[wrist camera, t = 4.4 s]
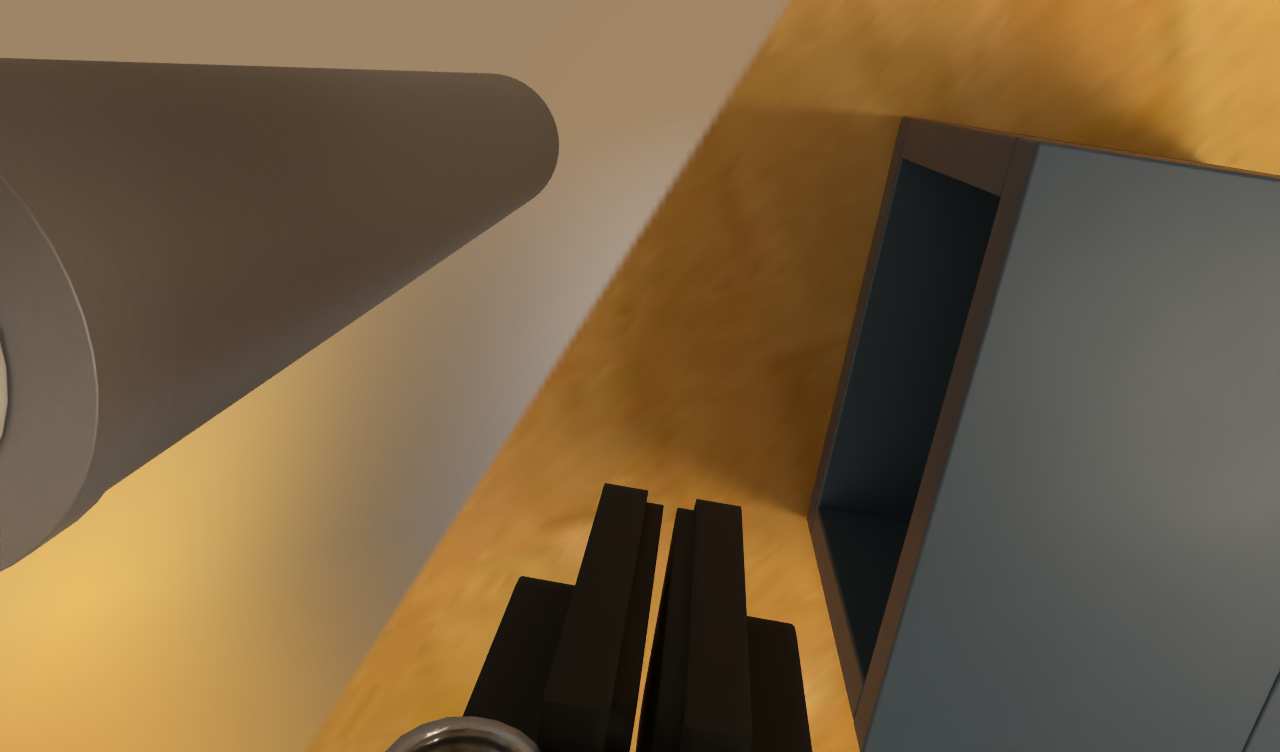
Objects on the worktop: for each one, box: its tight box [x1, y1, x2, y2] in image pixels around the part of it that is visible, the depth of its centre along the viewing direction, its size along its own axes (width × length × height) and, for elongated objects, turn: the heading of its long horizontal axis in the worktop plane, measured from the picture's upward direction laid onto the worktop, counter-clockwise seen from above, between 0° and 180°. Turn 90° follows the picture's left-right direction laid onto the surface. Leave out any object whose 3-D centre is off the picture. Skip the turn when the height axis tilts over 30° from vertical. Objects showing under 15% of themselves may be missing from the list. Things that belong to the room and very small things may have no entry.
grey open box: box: [807, 116, 1280, 752], centre depth 20 cm, size 8×12×10 cm, turn 172°
